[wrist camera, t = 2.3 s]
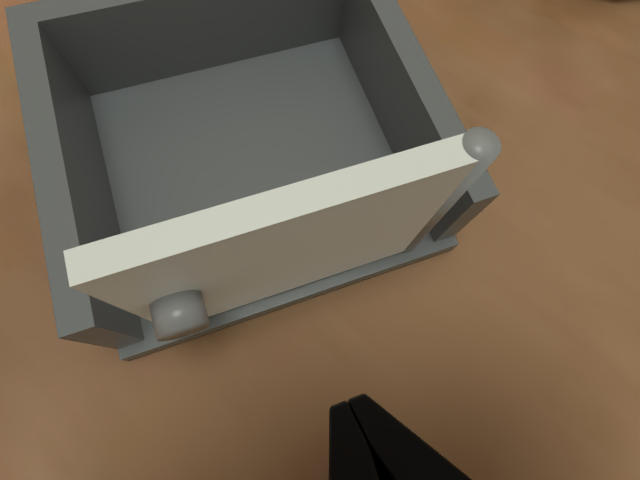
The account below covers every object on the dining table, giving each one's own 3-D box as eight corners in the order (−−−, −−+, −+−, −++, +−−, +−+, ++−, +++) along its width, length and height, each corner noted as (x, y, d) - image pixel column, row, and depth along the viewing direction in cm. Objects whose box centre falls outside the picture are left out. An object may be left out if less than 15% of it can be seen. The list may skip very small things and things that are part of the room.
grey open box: (451, 249, 22) (513, 198, 16) (128, 360, 19) (50, 351, 13) (335, 5, 27) (348, -106, 21) (66, 65, 25) (-10, -42, 18)
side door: (410, 226, 21) (490, 122, 13) (429, 267, 20) (525, 187, 12) (165, 306, 19) (62, 247, 11) (177, 355, 18) (77, 333, 10)
